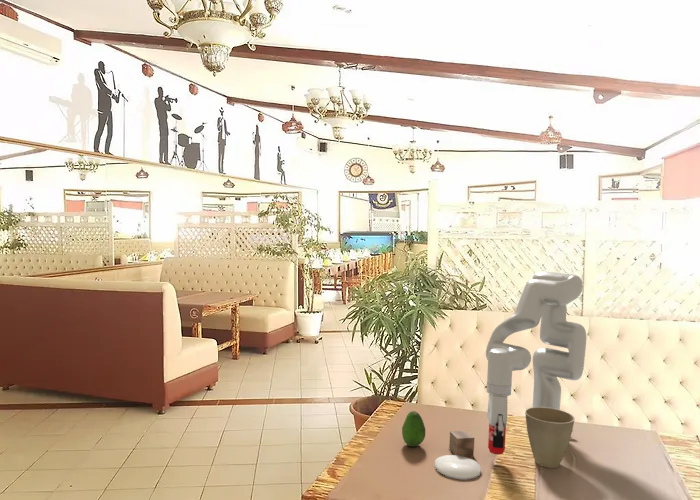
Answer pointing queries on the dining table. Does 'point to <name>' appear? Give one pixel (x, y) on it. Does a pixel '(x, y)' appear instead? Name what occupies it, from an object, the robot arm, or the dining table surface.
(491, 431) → the beverage can
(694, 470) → the dining table surface
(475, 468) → the ceramic plate
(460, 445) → the walnut block
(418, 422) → the avocado
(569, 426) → the plant pot
